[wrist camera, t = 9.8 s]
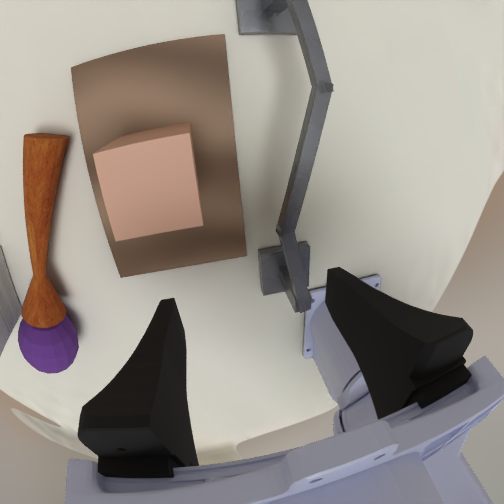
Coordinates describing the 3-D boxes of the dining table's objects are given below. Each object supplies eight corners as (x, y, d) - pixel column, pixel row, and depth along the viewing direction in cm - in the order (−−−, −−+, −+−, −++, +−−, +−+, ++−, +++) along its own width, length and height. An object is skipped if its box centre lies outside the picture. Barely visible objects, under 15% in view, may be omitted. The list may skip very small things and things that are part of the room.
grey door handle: (305, 281, 26) (329, 321, 21) (261, 289, 25) (277, 334, 21) (292, -13, 13) (325, -40, 9) (234, -15, 13) (250, -48, 8)
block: (199, 188, 19) (203, 225, 14) (134, 200, 19) (115, 241, 14) (189, 122, 17) (189, 133, 12) (121, 136, 16) (92, 154, 11)
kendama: (79, 144, 13) (80, 388, 20) (92, 135, 18) (81, 343, 25) (-8, 139, 10) (21, 382, 18) (23, 130, 15) (29, 338, 22)
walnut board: (245, 252, 23) (246, 255, 23) (122, 273, 22) (120, 277, 21) (223, 36, 15) (224, 34, 14) (74, 68, 14) (70, 67, 13)
